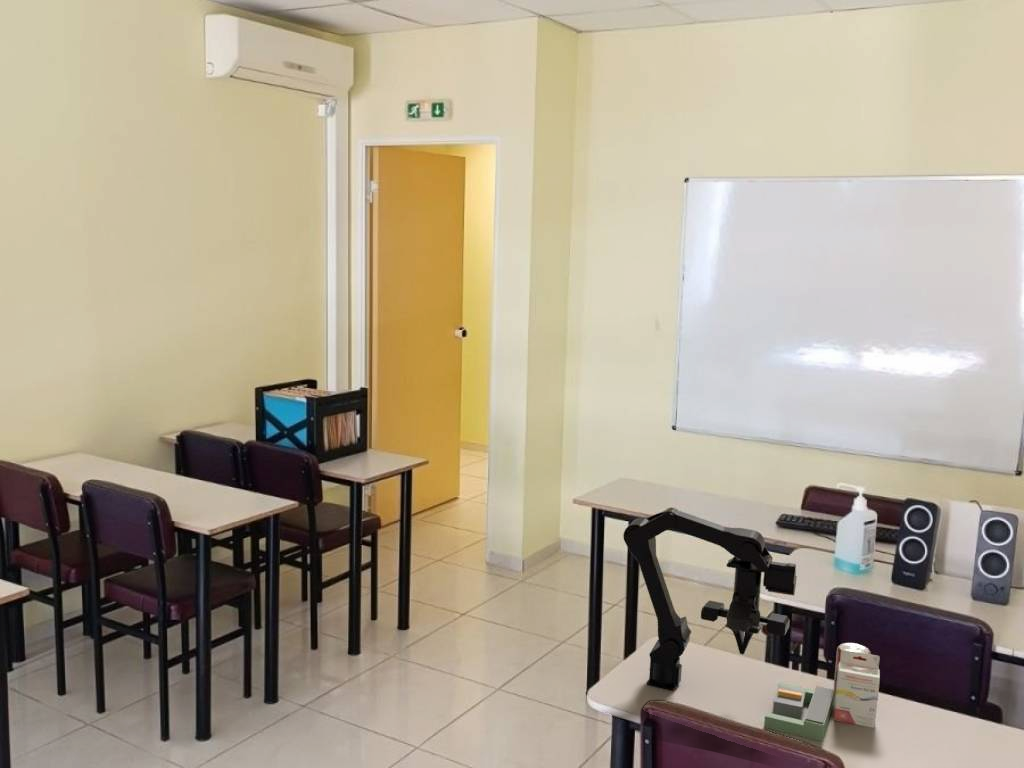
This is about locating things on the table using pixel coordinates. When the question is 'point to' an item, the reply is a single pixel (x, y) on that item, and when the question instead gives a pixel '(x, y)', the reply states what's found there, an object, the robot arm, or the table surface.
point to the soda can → (854, 648)
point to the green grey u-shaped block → (814, 717)
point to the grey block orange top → (789, 702)
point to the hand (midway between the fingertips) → (742, 653)
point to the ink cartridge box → (857, 689)
